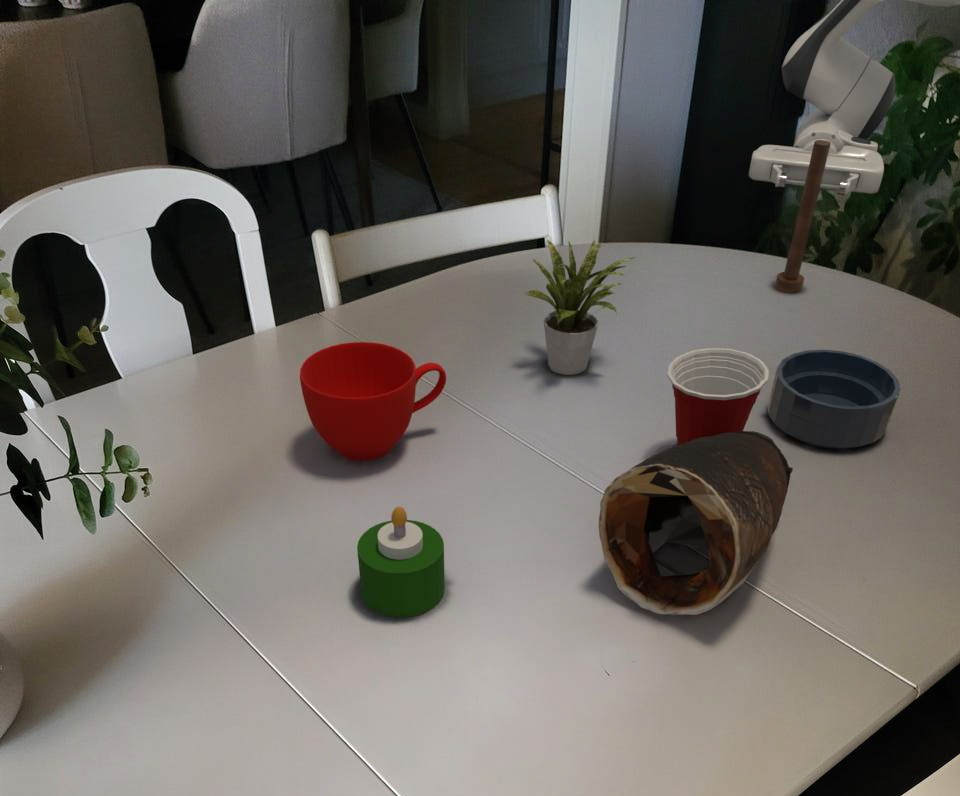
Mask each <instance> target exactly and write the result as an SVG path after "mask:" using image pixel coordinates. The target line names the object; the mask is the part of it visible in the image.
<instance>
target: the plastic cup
mask: <svg viewBox="0 0 960 796" xmlns="http://www.w3.org/2000/svg"><path fill="white" fill-rule="evenodd" d="M667 378H668V379H669V381H670V383H671V385H672V390H673V397H674V410H675V411H674V413H675V436H676V445H680V444H684V443H687V442H689V441H691V440H694V439H697V438H701V437H709V436H715V435H718V434H723V433H732V432H736V431H744V430H745V427H746V424H747V422H748V420H749V417H750V415H751V412H752V410H753V406H754V405H755V404H756V402H757V399H758V396H759V395H760V393H761V390H762V389H763V387H764V386H765V385H766V384H767V382H768V380H769V368H768V367H767V364H765V363H764V361H763V360H762V359H760V358H758V357H756V356H754V355H753V354H751V353H749V352H745V351H741V350H737V349H734V348H720V347H707V348H700V349H694V350H691V351H688V352H686V353H683V354H681V355H678V356H677V357H675V358H674V359H673V361H671V362H670V363H669V364H668V369H667Z"/></svg>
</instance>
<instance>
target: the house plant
mask: <svg viewBox="0 0 960 796" xmlns="http://www.w3.org/2000/svg"><path fill="white" fill-rule="evenodd" d="M603 243H604V242H603V241H602V242H600V243H598V244H597V245H596V239H594V240H593V241H592V243H591V245H590V247H589V249H588V251H587V253H586V255H585V258H584V259H583V261H582V263H581V265H580V267H579V270H578V271H577V262H576V259H575V258H576V257H575V254H574V251H573V246H572V244H571V242H570V241H568V257H569V258H568V259H569V261H568V262H569V266H568V265H567V264H564V261H563V257H562V256H561V254H560V253H559V252H558V250H557V248H556V247H555V245H554V243H553V242H551V241H550V240H549V239H548V238H547V245H548V250H549V254H550V258H551V263H552V269H553V270H552V274H551V273H550V271H548V270H547V269H546V267H545V266H544V265H543V264H541V262H539V261H537V259H533V258H531V260H532V261H533V263H534V264H536V266H538V268H539V269H540V271H541V273H542V274H543V275H544V276H545V278H546V279H547V280H548V282H549V283H547V284H546V285H545V287H546V290H547V292H548V293H549V295H550V296H551V298H550V296H548V295H547V294H546V293H544V292H542V291H541V290H537V289H532V290H529V291H526V292H525V293H524V296H528V297H531V298H536V299H539V300H542V301H545V302H547V303H548V304H550V305H551V306H552V308H553V309H554V310H553V311H551V312H549V313H548V314H546V315H545V317H544V318H543V328H544V337H545V346H546V347H545V348H546V355H547V364H548V367H549V369H550V370H551V371H552V372H554V373H556V374H560V375H566V376H567V375H568V376H573V375H578V374H581V373H582V372H585V371H586V370H587V368H588V364H589V360H590V357H591V354H592V353H591V352H592V349H593V345H594V341H595V338H596V335H597V332H598V331H597V330H598V327H599V320H598V319H597V317H596V316H594V314H595V313H598V311H600V309H605V308H608V309H609V310H612V311H613V312H615V313H616V316H619V315H618V312H617V310H618V308H617V307H615V305H613V303H611V302H608V301H603V300H602V299H604V298H606V297H608V296H611V295H614V294H615V295H616V293H615V292H614V291H612V290H611V288H613V287H615V286H620V285H621V284H622V285H623V283H622V282H620V283H619V282H618V283H611V284H609V285H605V284H603V283H602V282H603V281H604V280H606V278H607V277H608V276H610V275H615V276H624V277H626V275H625V274H624V273H621V272H617V271H616V270H618V269H622V268H623V269H624V268H626V267H627V266H626V265H621V264H623V263H625V262H628V261H632V260H633V259H635V258H637V256H632V257H628V258H627V257H625V258H623V259H620V260H617V261H615V262H612V263H611V264H609V265H608V266H607V267H605V268H604V269H601V270H597V271H596V272H593V273H592V271H593V269H594V267H595V265H596V263H597V257H598V252H599V251H600V249H601V247H602V244H603ZM566 273H567V275H568V278H567V277H566ZM592 278H593V280H592V281H591V282H590V283H589V284H588V286H587V287H585V286H586V284H587V282H588V281H589V280H591V279H592ZM597 288H602V289H600V290H598V291H596V290H597ZM593 306H594V307H595V306H600V307H601V308H599V309H598V310H597V311H595V312H594V313H590V312H588V311H589V310H590V309H591V307H593Z"/></svg>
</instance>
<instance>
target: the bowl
mask: <svg viewBox="0 0 960 796" xmlns="http://www.w3.org/2000/svg"><path fill="white" fill-rule="evenodd" d="M900 392H901V385H900V381H899V378H898V377H897V376H896V375H895V374H894V373H893V372H892V370H891V369H889V368H888V367H886V366H884V365H883V364H881V363H880V362H878V361H875V360H872V359H871V358H868V357H865V356H864V355H859V354H855V353H852V352H849V351H848V352H847V351H842V350H832V349H808V350H803V351H799V352H795V353H792V354H789V355H788V356H786V357H785V358H783V359H782V360H781V361H780V363H779V364H778V366H777V367H776V371H775V374H774V379H773V382H772V388H771V391H770V395H769V399H768V403H767V412H768V416H769V418H770V419H771V421H772V423H773V424H774V425H775V426H777V427H778V429H780V430H781V431H783V432H784V433H786V435H788V436H790V437H791V438H793V439H794V440H797V441H798V442H799V441H800V442H801V443H804V444H808V445H810V446H814V447H817V448H823V449H833V450H834V449H835V450H841V449H842V450H843V449H853V448H859V447H862V446H866V445H870V444H873V443H875V442H876V441H878V440H880V439H881V438H882V437H884V435H885V433H886V431H887V429H888V427H889V424H890V421H891V418H892V416H893V412H894V409H895V405H896V404H897V401H898V397H899V395H900Z"/></svg>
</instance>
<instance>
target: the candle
mask: <svg viewBox="0 0 960 796" xmlns="http://www.w3.org/2000/svg"><path fill="white" fill-rule="evenodd" d="M356 549H357V551H356V552H357V560H358V561H357V562H358V570H359V571H358V572H359V581H360V591H361V597H362V599H363V602H364V603H365V604H366V606H368V608H370V609H371V610H372V611H375V612H377V613H378V614H380V615H384V616H388V617H393V618H409V617H415V616H420V615H422V614H425V613H427V612H429V611H430V610H432V609H434V608H435V607H437V605H439V603H440V602H441V601H442V600H443V597H444V594H445V589H446V588H445V587H446V586H445V581H446V580H445V543H444V539H443V537H442V535H441V534H440V533H439V531H438V530H437V529H435V528H434V527H432V526H431V525H428V524H427V523H425V522H421V521H418V520H410V519H408V515H407V512H406V510H405V508H403V507H402V506H396V507H394V508H393V510H392V513H391V517H390V520H387V521H383V522H380V523H377V524H375V525H373V526H371V527H370V528H368V529H367V530H366V531H364V532H363V534H362V535H361V536H360V537H359V539H358V541H357V546H356Z"/></svg>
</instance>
